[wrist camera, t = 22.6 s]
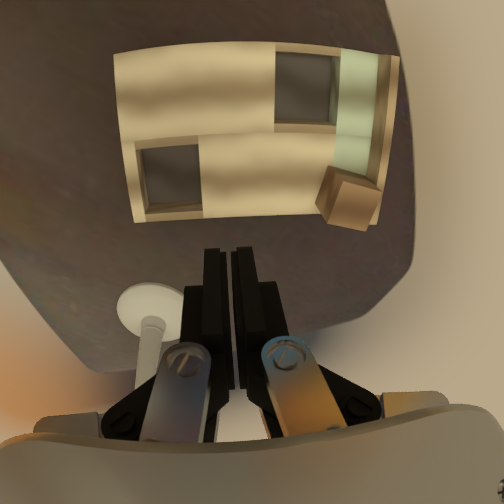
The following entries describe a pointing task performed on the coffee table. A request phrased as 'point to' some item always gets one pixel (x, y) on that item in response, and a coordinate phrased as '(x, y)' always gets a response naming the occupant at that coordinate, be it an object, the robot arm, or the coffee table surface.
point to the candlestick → (150, 321)
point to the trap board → (249, 125)
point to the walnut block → (347, 198)
